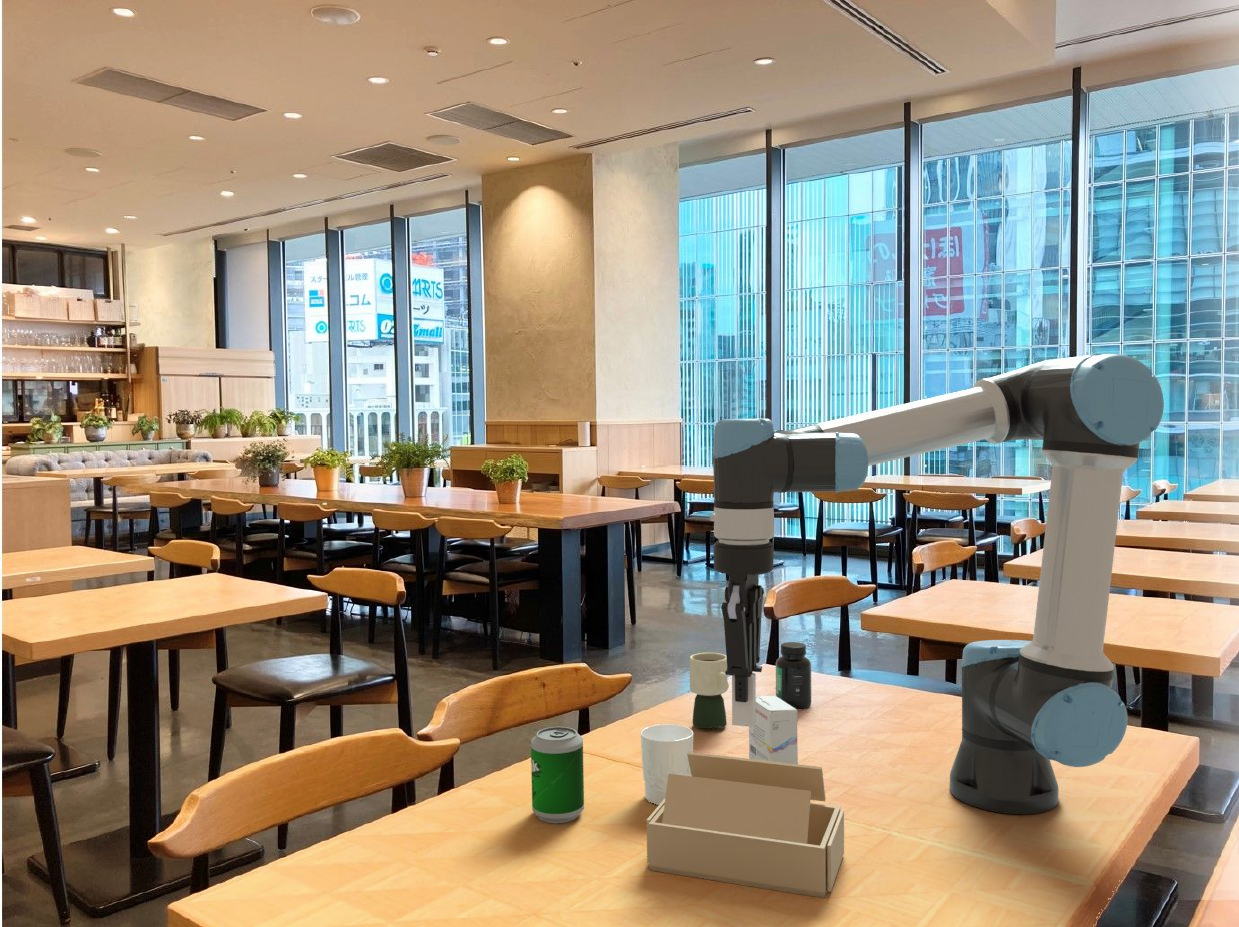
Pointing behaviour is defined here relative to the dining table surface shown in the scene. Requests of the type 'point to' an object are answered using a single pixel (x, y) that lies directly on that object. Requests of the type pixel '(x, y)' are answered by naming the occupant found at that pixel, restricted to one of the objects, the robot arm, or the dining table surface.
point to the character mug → (708, 689)
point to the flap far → (759, 772)
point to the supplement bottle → (794, 675)
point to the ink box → (774, 731)
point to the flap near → (737, 808)
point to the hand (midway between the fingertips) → (743, 724)
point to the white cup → (664, 757)
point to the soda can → (557, 774)
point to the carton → (752, 854)
